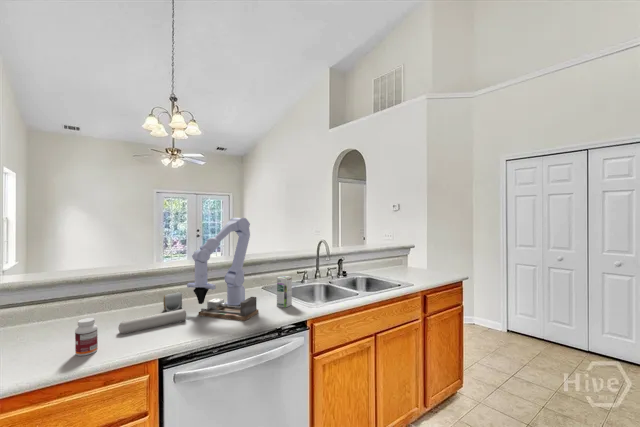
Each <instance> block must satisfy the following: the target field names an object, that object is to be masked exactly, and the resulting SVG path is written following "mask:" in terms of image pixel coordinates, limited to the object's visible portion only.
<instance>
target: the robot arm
mask: <svg viewBox="0 0 640 427" xmlns="http://www.w3.org/2000/svg"><path fill="white" fill-rule="evenodd" d="M250 226H251V223H250V221H249V220H248V219H247V218H246V217H231V218H230V219H229V220H227V221H226V224H225V225H224V226H223V227H222V229H220V231H218V233H217V234H216V235H215V236H214V237H210V238H207V239H206V242H205V243H204V244H202V245H201V246H199V248H198V249H196V250H195V251H194V252H193V254H192V255H191V257H192V259H193V260H194V282H188V283H186V288H187V289H188V288H193V293H194V294H195V295H196V299H197V303H198V304H199V305H202V304H204V302H205V298H206V295H207V293H208V291H209V290H212V291H213V290H215V289H216V284H213V283H208V281H209V280H208V275H209V274H208V262H209V260H210V258H211V255H212V254H213V253H214V252H215V251H216V250H217V249H218V248H219V247H220V243H221V242H222V241H223V240H224V239H225V238H226V237H227V236H228V235H229V234H230V233H232V232H235V233H236V234H237V236H238V239H237V243H236V247H235V251H234V255H233V260H232V264H231V266H230V267H229V268H227V269H228V270H227V272H226V274H225V275H224V283H225V284H226V286H227V287H226V293H227V294H226V302H225V303H226V304H227V306H237V307H239V305H240V302H242V301H244V300H246V288H245V286H244V285H243V284H244V283H245V270H244V269H243V267H244V262H245V259H246V258H245V257H246V254H247V250H248V246H249V241H250V238H251V230H250Z"/></svg>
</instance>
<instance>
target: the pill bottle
mask: <svg viewBox="0 0 640 427" xmlns="http://www.w3.org/2000/svg"><path fill="white" fill-rule="evenodd" d="M95 320H96V319H95V318H94V317H87V318H82V319H79V320H78V321H77V326H78V327H76V328H75V331H74V337H75V338H74V339H75V341H74V343H75V345H74V346H75V347H74V349H75V355H76V356H81V357H83V356H89V355H92V354H94V353H96V352H97V351H98V348H99V346H98V341H99V340H98V338H99V337H98V335H99V334H98V325H97V324H95V322H96V321H95Z"/></svg>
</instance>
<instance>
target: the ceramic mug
mask: <svg viewBox="0 0 640 427" xmlns="http://www.w3.org/2000/svg"><path fill="white" fill-rule="evenodd" d="M182 296H183V294H182V292H180V291H178V292H173V293H168V294H164V296H163V300H162V301H163V310H166V312H171V311H176V310H181V309H183V297H182Z"/></svg>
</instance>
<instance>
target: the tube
mask: <svg viewBox="0 0 640 427" xmlns="http://www.w3.org/2000/svg"><path fill="white" fill-rule="evenodd" d="M186 320H187V311H186V308H180V309H179V310H176V311H171V312H167V311H166V312H162V313H156V314H152V315H151V314H150V315H146V316H141V317H136V318H132V319H131V318H130V319H125V320H122V321H121V322H120V323H119V325H118V331H119V332H118V333H120V334H121V335H125V334H129V333H135V332H138V331H145V330H148V329H153V328H157V327H162V326H167V325H173V324H176V323H182V322H186Z"/></svg>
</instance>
